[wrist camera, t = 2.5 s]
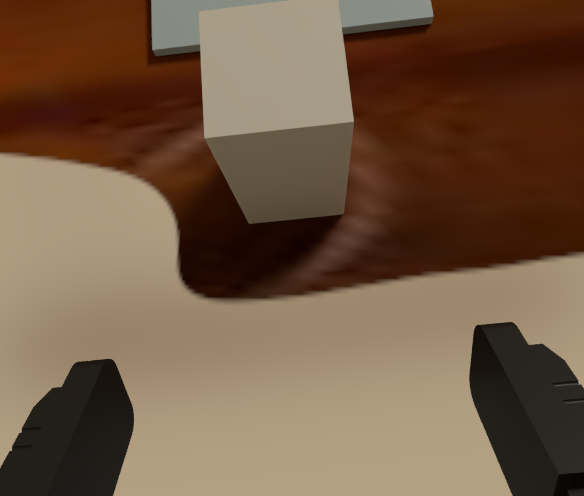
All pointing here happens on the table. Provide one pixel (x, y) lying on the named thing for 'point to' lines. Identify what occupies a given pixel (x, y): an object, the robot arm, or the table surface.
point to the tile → (352, 3)
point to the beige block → (278, 106)
